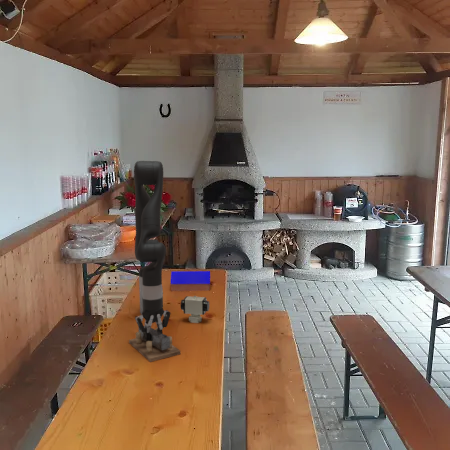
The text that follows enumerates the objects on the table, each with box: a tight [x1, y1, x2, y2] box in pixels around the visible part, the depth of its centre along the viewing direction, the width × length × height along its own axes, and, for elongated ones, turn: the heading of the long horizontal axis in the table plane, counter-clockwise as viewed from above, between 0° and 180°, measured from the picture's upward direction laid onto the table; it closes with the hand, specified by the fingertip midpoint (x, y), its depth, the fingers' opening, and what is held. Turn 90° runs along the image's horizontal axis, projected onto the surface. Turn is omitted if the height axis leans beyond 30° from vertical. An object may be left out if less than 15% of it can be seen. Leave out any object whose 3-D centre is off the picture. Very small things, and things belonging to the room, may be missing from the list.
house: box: [170, 270, 211, 292], centre depth 248 cm, size 12×20×12 cm, turn 91°
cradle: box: [128, 327, 181, 363], centre depth 179 cm, size 20×12×5 cm, turn 33°
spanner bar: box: [138, 325, 170, 350], centre depth 179 cm, size 16×4×4 cm, turn 41°
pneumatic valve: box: [180, 295, 210, 324], centre depth 205 cm, size 6×12×12 cm, turn 79°
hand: (153, 339), depth 179 cm, fingers closed on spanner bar, 3 cm apart
